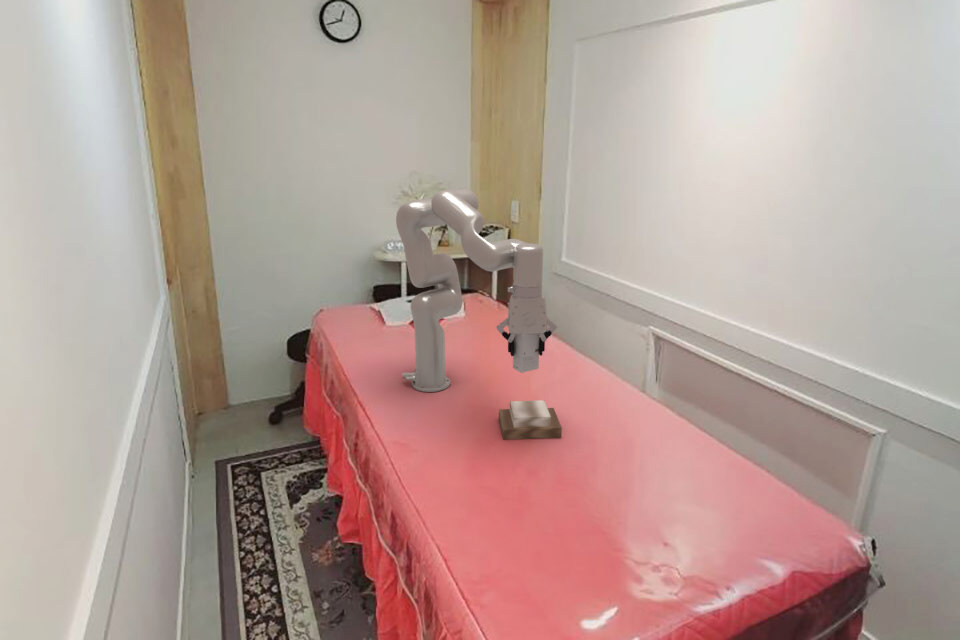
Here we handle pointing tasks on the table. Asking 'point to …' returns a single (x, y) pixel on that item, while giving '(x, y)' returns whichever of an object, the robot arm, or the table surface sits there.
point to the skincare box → (526, 352)
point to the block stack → (529, 421)
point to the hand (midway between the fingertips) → (526, 353)
